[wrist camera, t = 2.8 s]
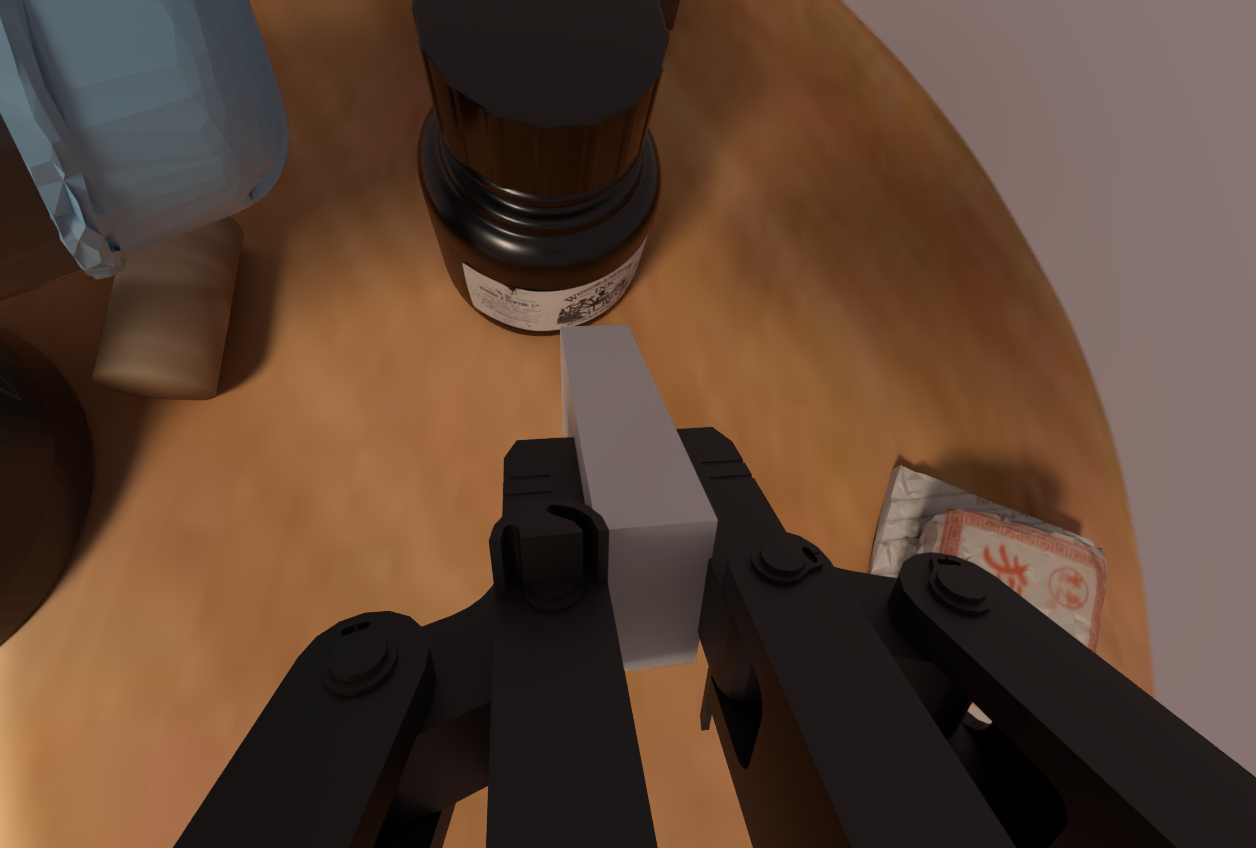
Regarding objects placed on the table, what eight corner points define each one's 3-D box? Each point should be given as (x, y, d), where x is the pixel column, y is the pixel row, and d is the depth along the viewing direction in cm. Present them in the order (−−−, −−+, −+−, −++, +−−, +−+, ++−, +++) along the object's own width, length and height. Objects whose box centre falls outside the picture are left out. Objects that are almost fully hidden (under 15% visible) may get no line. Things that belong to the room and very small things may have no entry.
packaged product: (1119, 1060, 18) (843, 962, 18) (1002, 959, 23) (781, 878, 23) (1170, 536, 23) (954, 446, 23) (1065, 540, 28) (884, 465, 27)
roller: (234, 402, 23) (180, 374, 20) (137, 399, 23) (63, 370, 19) (259, 247, 25) (213, 197, 21) (168, 241, 24) (106, 189, 21)
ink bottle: (490, 376, 25) (449, 220, 13) (402, 213, 26) (294, -62, 14) (675, 289, 27) (775, 93, 16) (587, 143, 28) (621, -141, 17)
